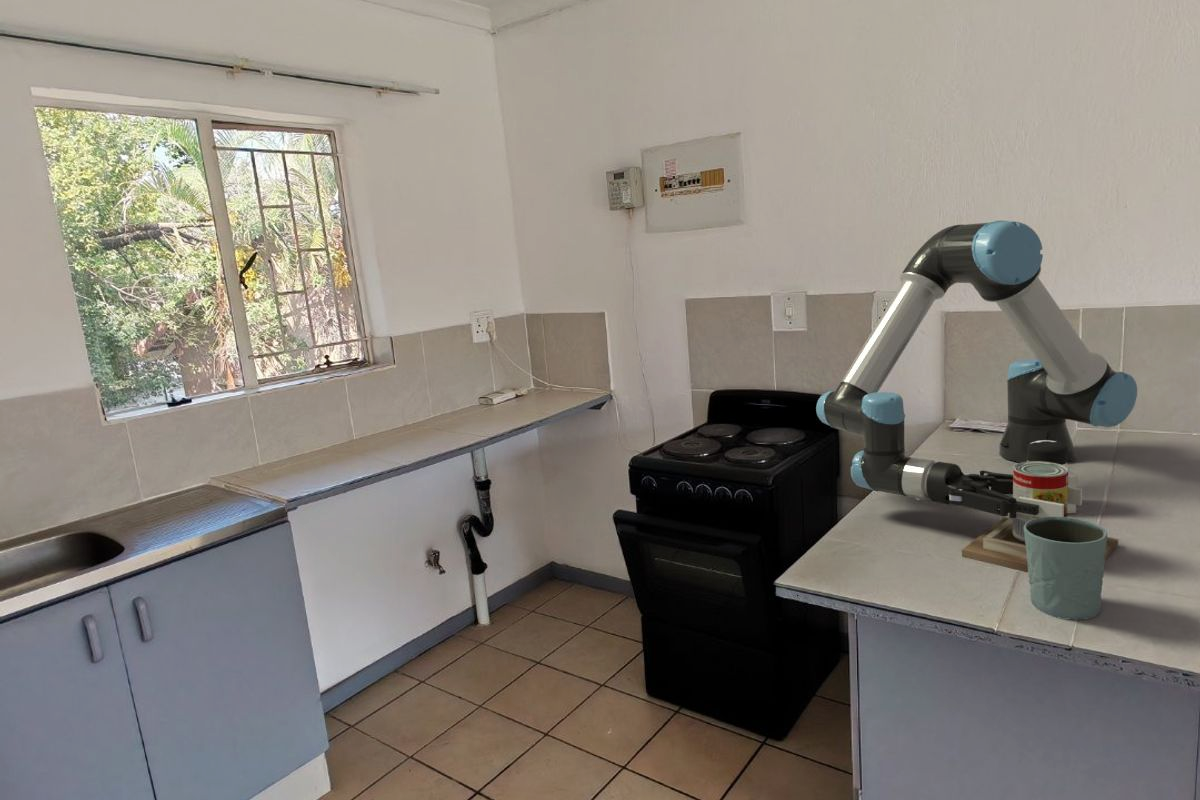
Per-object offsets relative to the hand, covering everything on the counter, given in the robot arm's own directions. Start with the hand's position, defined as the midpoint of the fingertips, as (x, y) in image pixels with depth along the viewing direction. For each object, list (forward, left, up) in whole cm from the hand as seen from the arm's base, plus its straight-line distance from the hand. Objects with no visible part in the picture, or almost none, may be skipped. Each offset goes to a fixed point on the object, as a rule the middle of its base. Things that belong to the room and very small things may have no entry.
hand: (1072, 504), depth 120 cm
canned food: (0, -5, -7) cm, 8 cm away
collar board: (0, -5, -9) cm, 10 cm away
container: (-21, -11, -10) cm, 25 cm away
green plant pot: (+17, +4, -10) cm, 20 cm away
